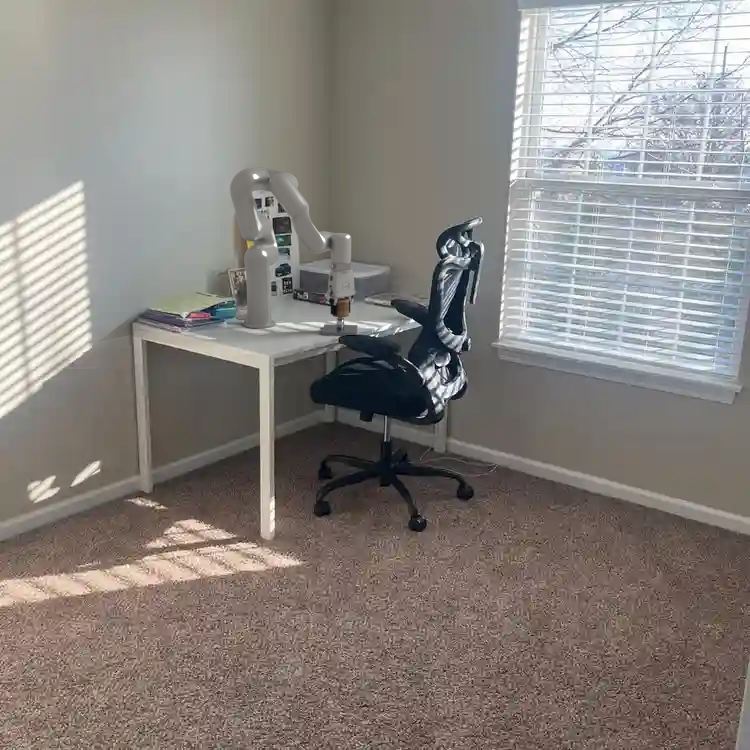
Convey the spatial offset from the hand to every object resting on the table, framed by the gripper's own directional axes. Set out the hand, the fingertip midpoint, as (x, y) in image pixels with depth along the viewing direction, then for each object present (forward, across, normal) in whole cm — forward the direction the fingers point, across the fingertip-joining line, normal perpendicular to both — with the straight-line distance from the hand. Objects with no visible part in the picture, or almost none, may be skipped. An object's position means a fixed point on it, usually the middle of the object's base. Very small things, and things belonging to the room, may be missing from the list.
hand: (340, 313), depth 315 cm
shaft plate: (+7, 0, 0) cm, 7 cm away
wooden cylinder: (+1, 0, 0) cm, 1 cm away
